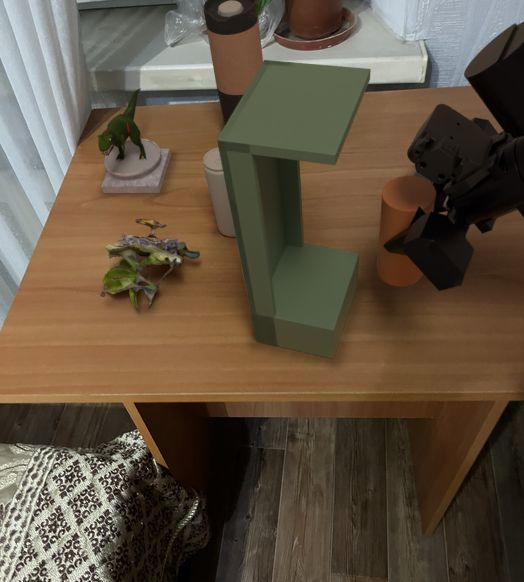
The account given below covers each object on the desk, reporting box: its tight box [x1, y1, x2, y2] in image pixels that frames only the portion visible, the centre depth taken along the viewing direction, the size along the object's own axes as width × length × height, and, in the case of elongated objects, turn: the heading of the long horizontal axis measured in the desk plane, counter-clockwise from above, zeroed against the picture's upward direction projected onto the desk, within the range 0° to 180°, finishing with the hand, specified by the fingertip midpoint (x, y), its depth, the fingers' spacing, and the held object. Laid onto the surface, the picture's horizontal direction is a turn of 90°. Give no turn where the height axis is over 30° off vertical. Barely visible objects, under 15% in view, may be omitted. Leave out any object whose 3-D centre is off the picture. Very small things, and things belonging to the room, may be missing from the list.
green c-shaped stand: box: [216, 59, 371, 360], centre depth 59 cm, size 10×12×29 cm
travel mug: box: [203, 0, 264, 126], centre depth 85 cm, size 8×8×20 cm
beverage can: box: [202, 146, 236, 238], centre depth 76 cm, size 5×5×12 cm
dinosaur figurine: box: [96, 87, 172, 194], centre depth 86 cm, size 9×20×12 cm, turn 174°
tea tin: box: [376, 175, 436, 287], centre depth 59 cm, size 5×5×11 cm
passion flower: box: [99, 218, 201, 310], centre depth 73 cm, size 11×11×12 cm
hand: (395, 230), depth 59 cm, fingers closed on tea tin, 5 cm apart
